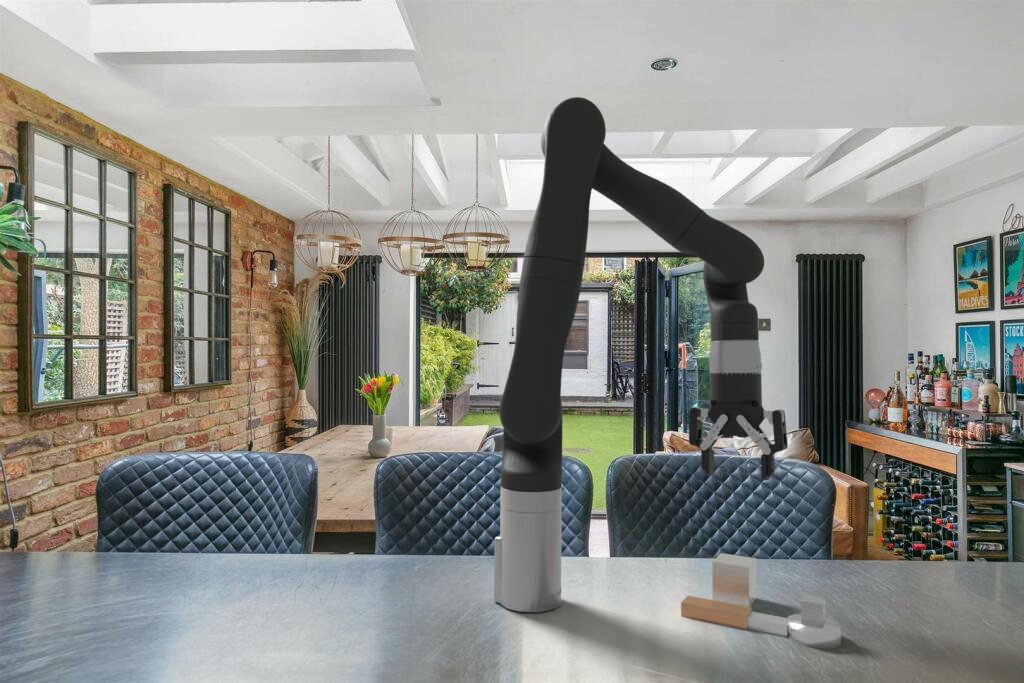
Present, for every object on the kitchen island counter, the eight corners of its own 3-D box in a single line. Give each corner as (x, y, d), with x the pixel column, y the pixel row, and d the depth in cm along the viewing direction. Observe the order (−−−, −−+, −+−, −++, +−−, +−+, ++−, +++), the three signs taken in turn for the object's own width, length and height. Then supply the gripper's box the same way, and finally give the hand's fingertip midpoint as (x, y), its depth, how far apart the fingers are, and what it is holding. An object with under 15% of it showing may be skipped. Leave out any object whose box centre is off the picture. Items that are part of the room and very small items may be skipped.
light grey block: (712, 601, 99) (712, 561, 100) (721, 591, 104) (721, 553, 104) (749, 608, 97) (748, 567, 97) (756, 598, 101) (756, 558, 101)
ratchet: (677, 619, 92) (677, 583, 93) (690, 605, 98) (690, 571, 98) (838, 653, 82) (838, 612, 82) (843, 635, 87) (842, 597, 88)
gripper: (681, 371, 103) (683, 476, 102) (776, 370, 94) (779, 485, 94) (698, 370, 109) (700, 469, 108) (790, 370, 100) (792, 477, 100)
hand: (737, 476), depth 101 cm, fingers open, 8 cm apart
